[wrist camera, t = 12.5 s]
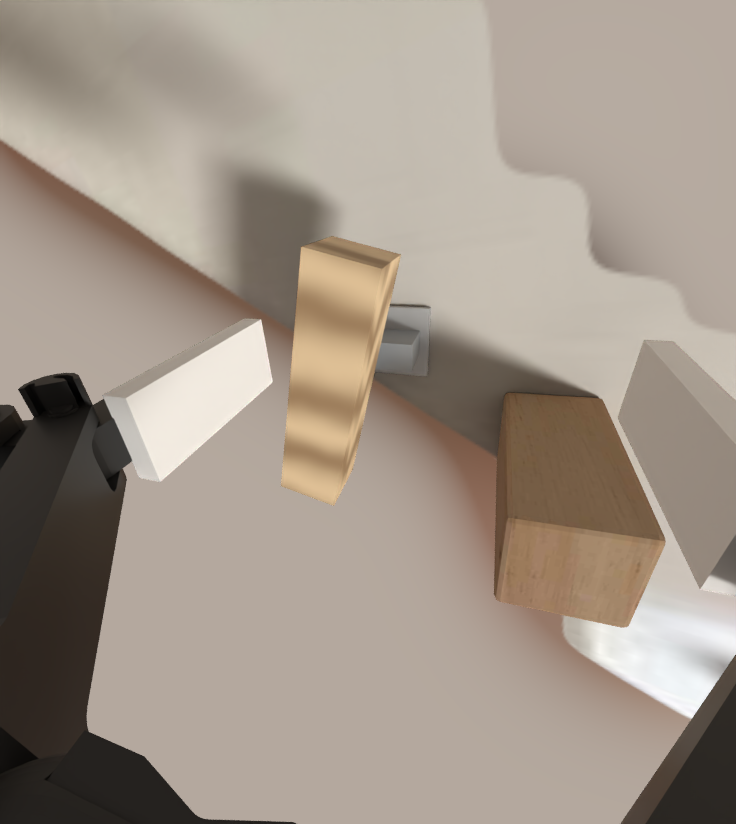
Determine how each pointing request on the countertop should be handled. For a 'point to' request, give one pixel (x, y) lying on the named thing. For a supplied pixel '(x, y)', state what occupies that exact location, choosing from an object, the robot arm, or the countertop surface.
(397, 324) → the bracket
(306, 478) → the beam
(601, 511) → the wooden block
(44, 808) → the robot arm
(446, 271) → the countertop surface
